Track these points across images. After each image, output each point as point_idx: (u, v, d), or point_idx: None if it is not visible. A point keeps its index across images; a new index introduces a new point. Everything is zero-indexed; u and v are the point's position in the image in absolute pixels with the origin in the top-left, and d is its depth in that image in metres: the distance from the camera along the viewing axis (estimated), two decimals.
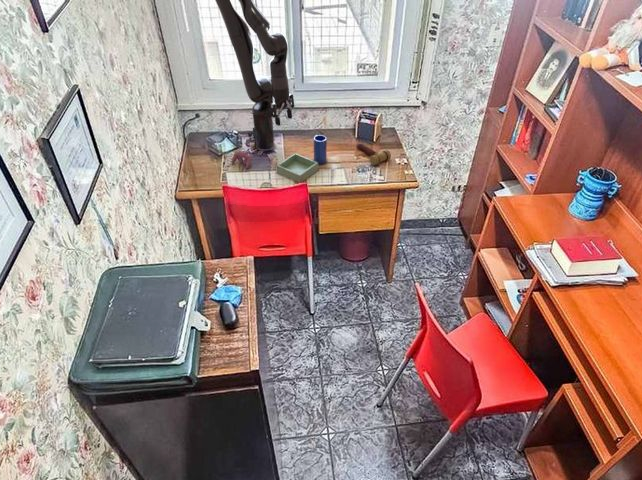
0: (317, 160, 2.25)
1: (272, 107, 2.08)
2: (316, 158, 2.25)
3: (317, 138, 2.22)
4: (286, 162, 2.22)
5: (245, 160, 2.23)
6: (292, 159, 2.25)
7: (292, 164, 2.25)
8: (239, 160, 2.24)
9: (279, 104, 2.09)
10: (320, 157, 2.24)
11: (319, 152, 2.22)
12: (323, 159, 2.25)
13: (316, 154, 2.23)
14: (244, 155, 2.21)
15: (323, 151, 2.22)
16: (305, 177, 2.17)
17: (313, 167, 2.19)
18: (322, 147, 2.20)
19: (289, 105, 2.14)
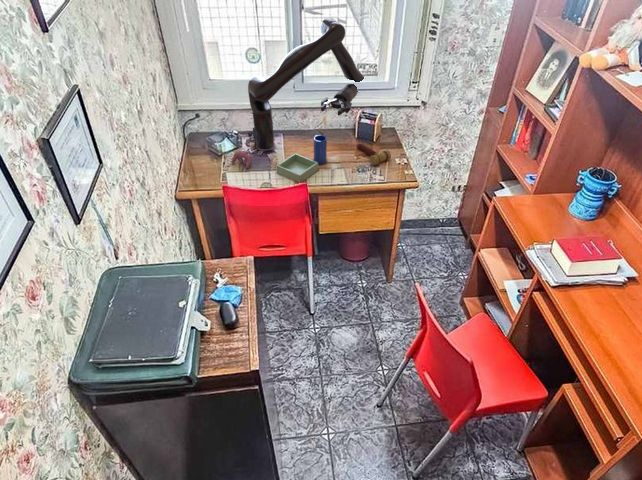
0: (317, 160, 2.25)
1: (350, 107, 2.24)
2: (316, 158, 2.25)
3: (317, 138, 2.22)
4: (286, 162, 2.22)
5: (245, 160, 2.23)
6: (292, 159, 2.25)
7: (292, 164, 2.25)
8: (239, 160, 2.24)
9: None
10: (320, 157, 2.24)
11: (319, 152, 2.22)
12: (323, 159, 2.25)
13: (316, 154, 2.23)
14: (244, 155, 2.21)
15: (323, 151, 2.22)
16: (305, 177, 2.17)
17: (313, 167, 2.19)
18: (322, 147, 2.20)
19: None
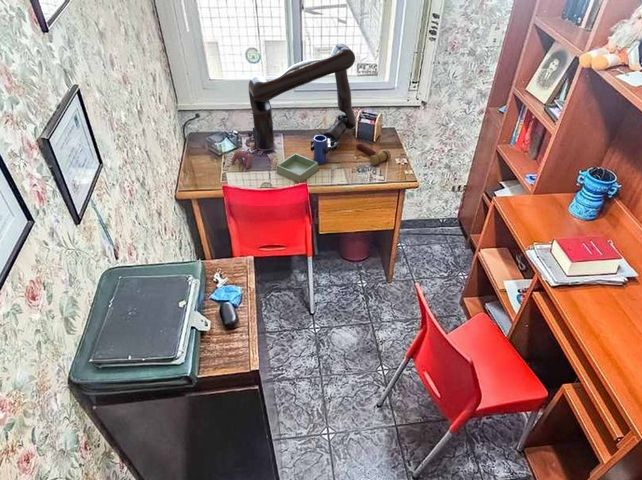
0: (317, 160, 2.25)
1: (338, 146, 2.26)
2: (316, 158, 2.25)
3: (317, 138, 2.22)
4: (286, 162, 2.22)
5: (245, 160, 2.23)
6: (292, 159, 2.25)
7: (292, 164, 2.25)
8: (239, 160, 2.24)
9: None
10: (320, 157, 2.24)
11: (319, 152, 2.22)
12: (323, 159, 2.25)
13: (316, 154, 2.23)
14: (244, 155, 2.21)
15: (323, 151, 2.22)
16: (305, 177, 2.17)
17: (313, 167, 2.19)
18: (322, 147, 2.20)
19: None
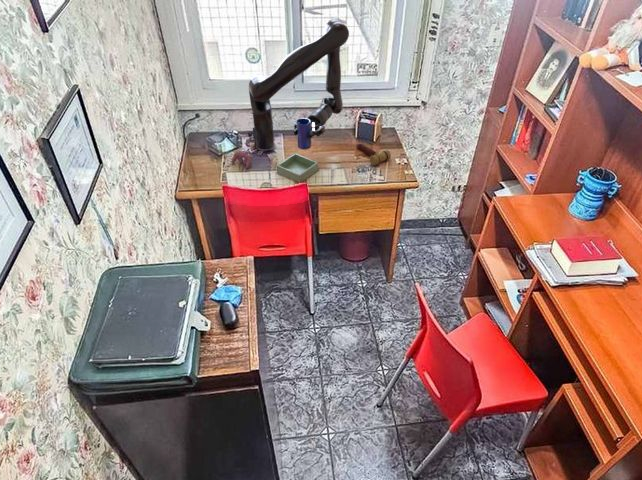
0: (301, 145, 2.12)
1: (323, 130, 2.13)
2: (300, 143, 2.12)
3: (301, 121, 2.09)
4: (286, 162, 2.22)
5: (245, 160, 2.23)
6: (292, 159, 2.25)
7: (292, 164, 2.25)
8: (239, 160, 2.24)
9: None
10: (304, 142, 2.11)
11: (303, 136, 2.09)
12: (307, 144, 2.12)
13: (300, 138, 2.10)
14: (244, 155, 2.21)
15: (307, 135, 2.09)
16: (305, 177, 2.17)
17: (313, 167, 2.19)
18: (306, 131, 2.07)
19: None
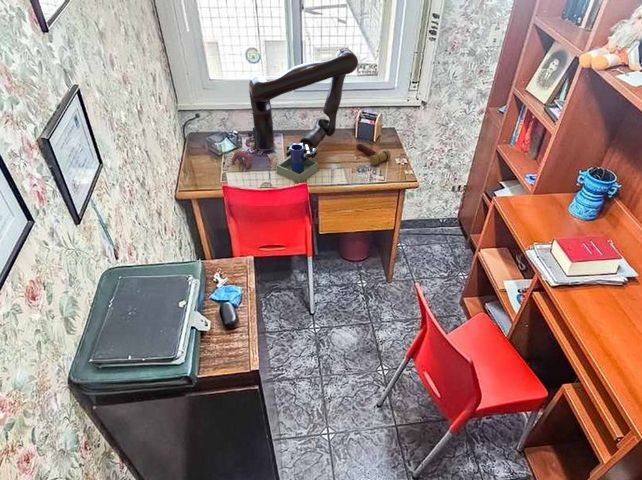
0: (294, 170, 2.18)
1: (317, 152, 2.19)
2: (293, 168, 2.18)
3: (294, 147, 2.15)
4: (286, 162, 2.22)
5: (245, 160, 2.23)
6: None
7: None
8: (239, 160, 2.24)
9: None
10: (297, 167, 2.17)
11: (296, 161, 2.15)
12: (300, 169, 2.18)
13: (293, 163, 2.16)
14: (244, 155, 2.21)
15: (300, 160, 2.15)
16: (305, 177, 2.17)
17: (313, 167, 2.19)
18: (299, 156, 2.13)
19: None
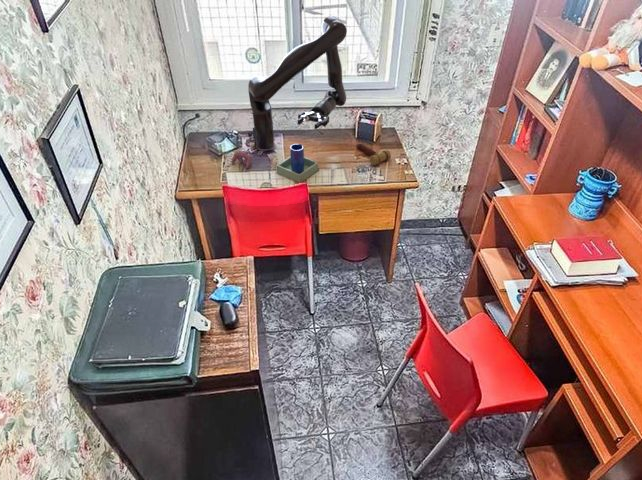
0: (294, 170, 2.18)
1: (328, 120, 2.19)
2: (293, 168, 2.18)
3: (294, 147, 2.15)
4: (286, 162, 2.22)
5: (245, 160, 2.23)
6: None
7: None
8: (239, 160, 2.24)
9: None
10: (297, 167, 2.17)
11: (296, 161, 2.15)
12: (300, 169, 2.18)
13: (293, 163, 2.16)
14: (244, 155, 2.21)
15: (300, 160, 2.15)
16: (305, 177, 2.17)
17: (313, 167, 2.19)
18: (299, 156, 2.13)
19: (307, 120, 2.21)
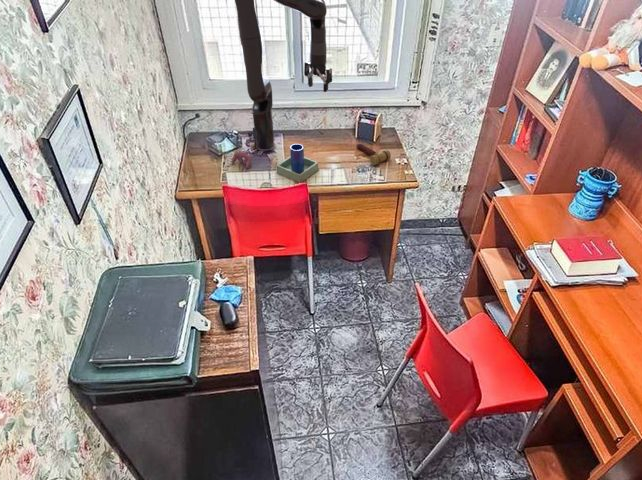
0: (294, 170, 2.18)
1: (330, 72, 2.08)
2: (293, 168, 2.18)
3: (294, 147, 2.15)
4: (286, 162, 2.22)
5: (245, 160, 2.23)
6: None
7: None
8: (239, 160, 2.24)
9: None
10: (297, 167, 2.17)
11: (296, 161, 2.15)
12: (300, 169, 2.18)
13: (293, 163, 2.16)
14: (244, 155, 2.21)
15: (300, 160, 2.15)
16: (305, 177, 2.17)
17: (313, 167, 2.19)
18: (299, 156, 2.13)
19: None
